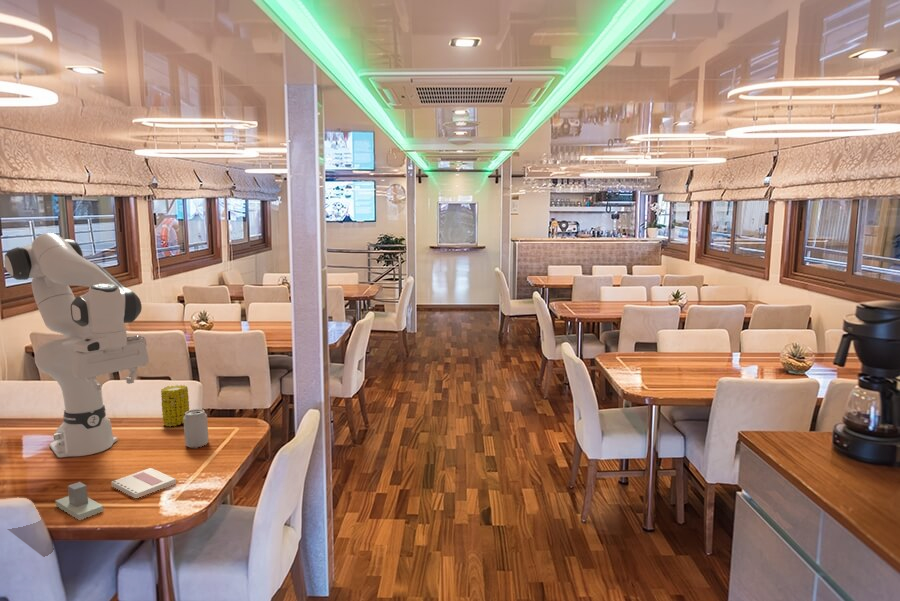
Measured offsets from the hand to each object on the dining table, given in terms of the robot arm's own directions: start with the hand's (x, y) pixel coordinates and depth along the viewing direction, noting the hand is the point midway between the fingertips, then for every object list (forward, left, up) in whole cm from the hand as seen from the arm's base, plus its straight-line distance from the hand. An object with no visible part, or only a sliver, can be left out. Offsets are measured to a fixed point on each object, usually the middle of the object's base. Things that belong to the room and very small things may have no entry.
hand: (114, 386), depth 176 cm
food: (-35, +37, -29) cm, 59 cm away
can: (-8, +29, -29) cm, 42 cm away
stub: (+8, -15, -29) cm, 34 cm away
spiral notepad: (+8, +2, -29) cm, 30 cm away
